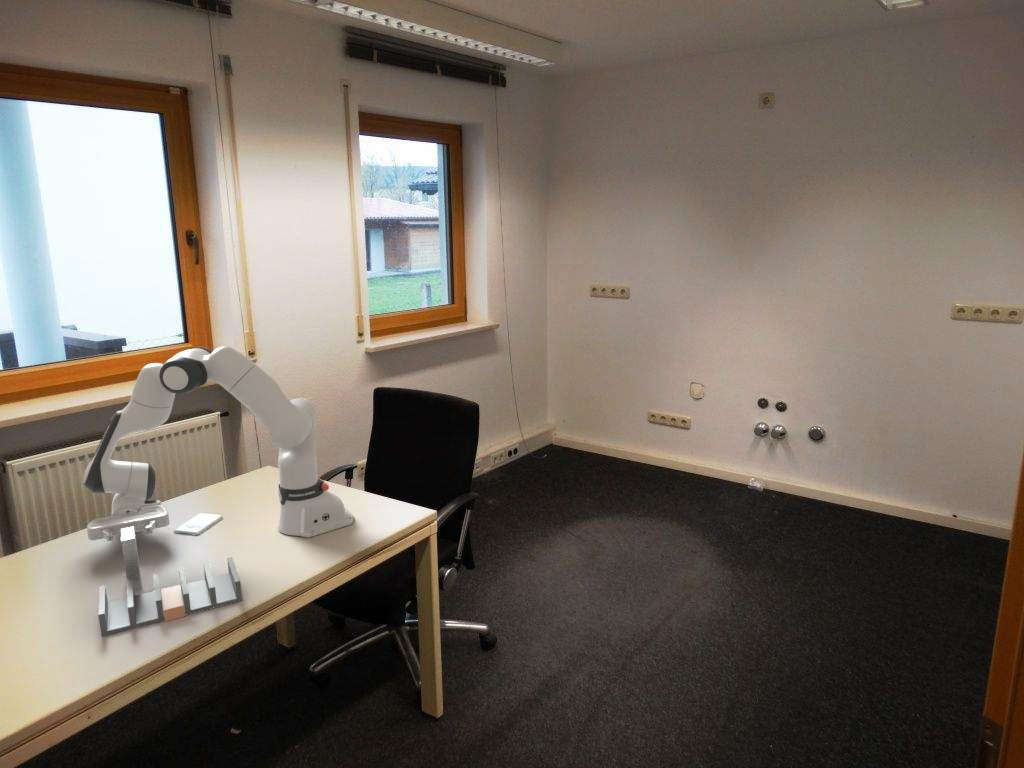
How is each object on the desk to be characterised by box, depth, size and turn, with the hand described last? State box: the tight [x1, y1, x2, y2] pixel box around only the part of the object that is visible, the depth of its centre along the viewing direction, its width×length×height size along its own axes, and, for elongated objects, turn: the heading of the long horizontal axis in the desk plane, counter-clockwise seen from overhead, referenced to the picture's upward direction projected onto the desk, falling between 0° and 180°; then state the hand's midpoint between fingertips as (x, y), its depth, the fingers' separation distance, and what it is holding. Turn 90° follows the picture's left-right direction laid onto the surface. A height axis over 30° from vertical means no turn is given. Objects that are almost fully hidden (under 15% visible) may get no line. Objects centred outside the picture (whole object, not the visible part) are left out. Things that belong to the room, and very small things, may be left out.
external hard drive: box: [173, 512, 223, 536], centre depth 211 cm, size 2×8×12 cm
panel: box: [120, 526, 143, 591], centre depth 176 cm, size 3×8×14 cm, turn 30°
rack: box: [97, 556, 243, 637], centre depth 167 cm, size 30×15×6 cm, turn 120°
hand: (129, 534), depth 187 cm, fingers open, 8 cm apart
